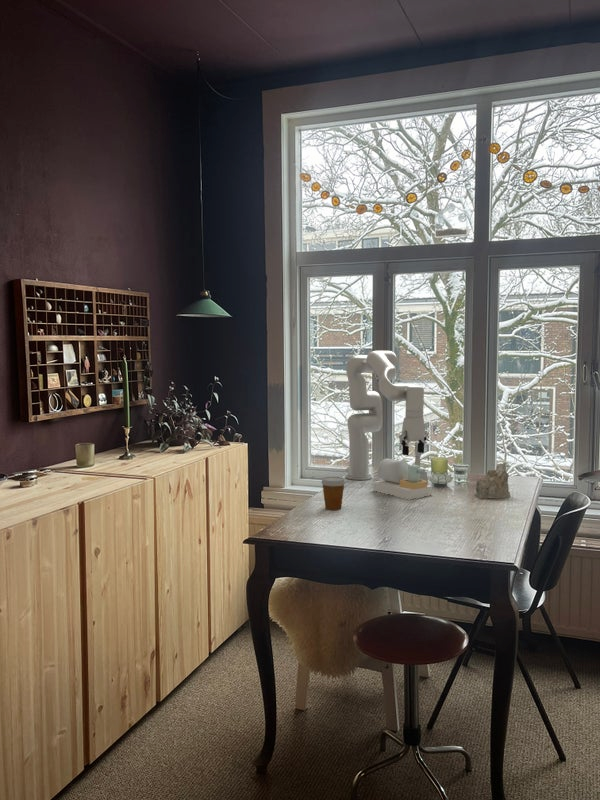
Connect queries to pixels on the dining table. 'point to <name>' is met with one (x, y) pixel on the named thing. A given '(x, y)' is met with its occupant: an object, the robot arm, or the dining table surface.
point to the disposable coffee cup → (333, 492)
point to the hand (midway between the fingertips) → (413, 453)
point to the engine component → (417, 462)
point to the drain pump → (414, 473)
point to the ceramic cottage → (494, 484)
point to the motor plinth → (401, 490)
